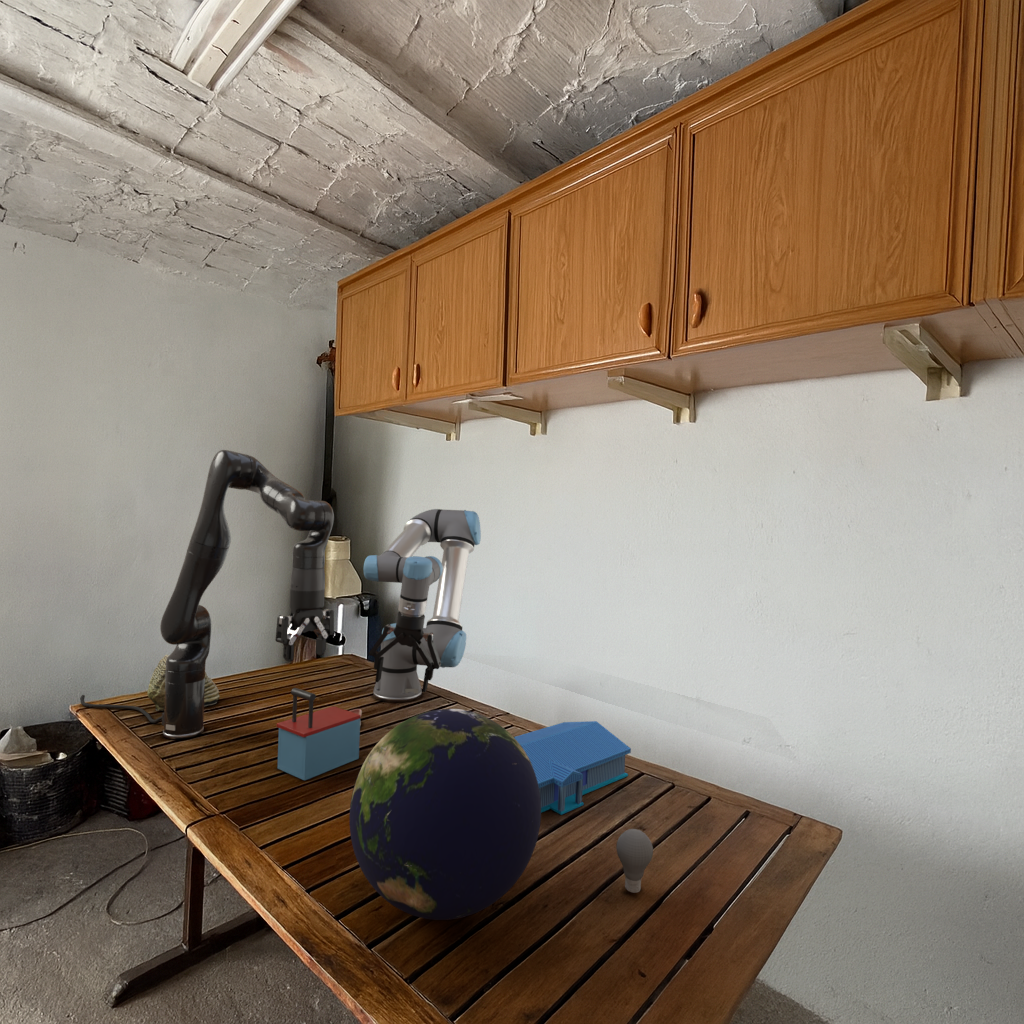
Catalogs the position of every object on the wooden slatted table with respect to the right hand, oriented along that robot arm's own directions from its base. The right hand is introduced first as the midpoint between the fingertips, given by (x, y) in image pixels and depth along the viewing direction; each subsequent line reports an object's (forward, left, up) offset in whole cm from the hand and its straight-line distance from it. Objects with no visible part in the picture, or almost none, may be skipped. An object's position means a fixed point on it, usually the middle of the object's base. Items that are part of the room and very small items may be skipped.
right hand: (401, 685), depth 178 cm
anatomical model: (+7, -16, -11) cm, 21 cm away
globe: (+73, +33, -11) cm, 81 cm away
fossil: (+3, -65, -11) cm, 66 cm away
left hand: (+34, -12, +15) cm, 39 cm away
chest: (+30, -9, -11) cm, 33 cm away
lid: (+30, -10, -1) cm, 31 cm away
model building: (+27, +44, -11) cm, 53 cm away
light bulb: (+63, +63, -11) cm, 89 cm away
